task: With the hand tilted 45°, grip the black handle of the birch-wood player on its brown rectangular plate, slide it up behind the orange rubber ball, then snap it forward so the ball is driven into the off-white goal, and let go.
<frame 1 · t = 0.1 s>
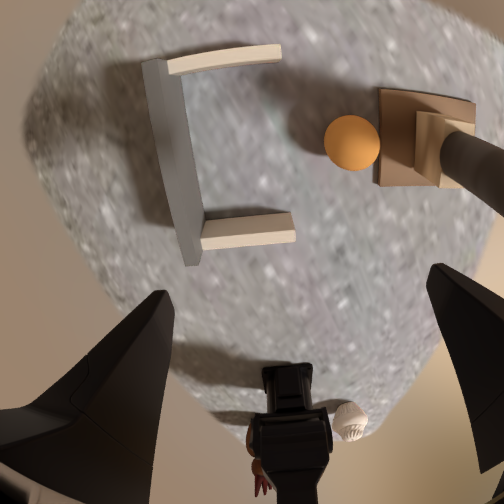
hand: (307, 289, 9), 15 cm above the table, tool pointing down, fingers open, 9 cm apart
goal: (231, 145, 21), on the table
brown rectangular plate: (425, 139, 20), on the table
muffin: (346, 405, 42), on the table
wooden figurine: (265, 418, 44), on the table
ball: (352, 142, 18), point 2 cm above the table
player: (479, 166, 13), point 7 cm above the table, slide at 0.0 cm
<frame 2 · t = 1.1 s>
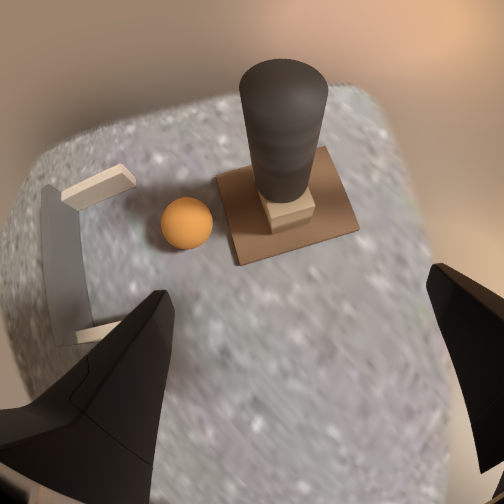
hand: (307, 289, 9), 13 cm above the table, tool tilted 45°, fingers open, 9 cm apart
goal: (108, 259, 24), on the table
brown rectangular plate: (280, 203, 24), on the table
ball: (186, 223, 22), point 2 cm above the table
player: (282, 160, 17), point 7 cm above the table, slide at 0.0 cm
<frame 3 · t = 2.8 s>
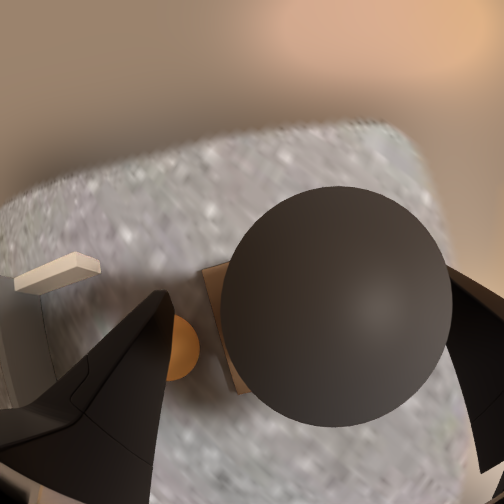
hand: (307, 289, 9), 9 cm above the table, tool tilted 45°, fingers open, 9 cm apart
goal: (78, 363, 17), on the table
brown rectangular plate: (291, 312, 17), on the table
ball: (165, 347, 15), point 2 cm above the table
player: (303, 311, 10), point 7 cm above the table, slide at 0.0 cm
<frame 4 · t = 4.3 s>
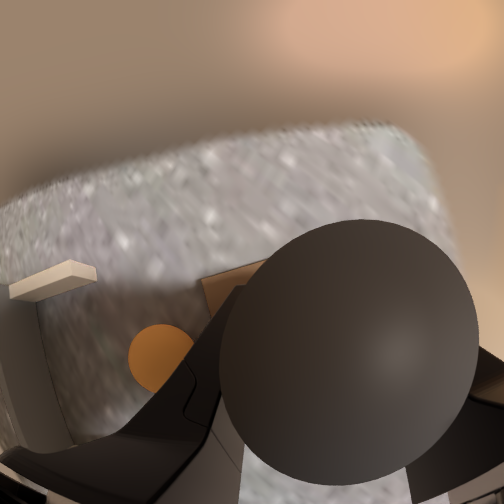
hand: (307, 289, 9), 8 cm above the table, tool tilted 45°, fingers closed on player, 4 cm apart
goal: (75, 372, 17), on the table
brown rectangular plate: (294, 323, 17), on the table
ball: (163, 359, 15), point 2 cm above the table
player: (308, 331, 9), point 7 cm above the table, slide at 0.0 cm, touching gripper
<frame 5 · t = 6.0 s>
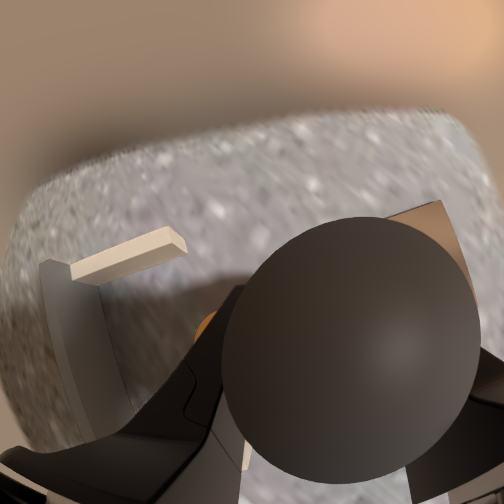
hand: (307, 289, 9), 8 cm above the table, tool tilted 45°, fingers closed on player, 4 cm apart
goal: (157, 362, 17), on the table
brown rectangular plate: (399, 282, 16), on the table
player: (309, 330, 9), point 7 cm above the table, slide at 7.2 cm, touching gripper
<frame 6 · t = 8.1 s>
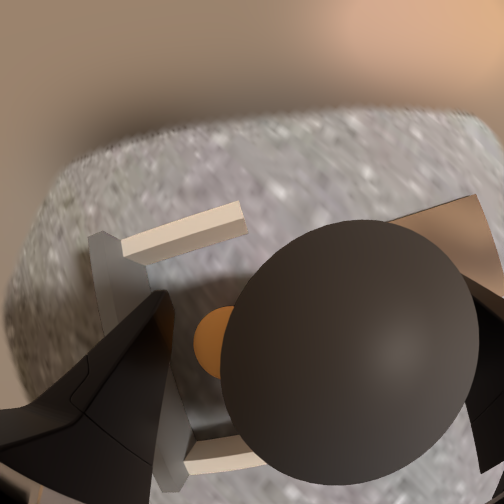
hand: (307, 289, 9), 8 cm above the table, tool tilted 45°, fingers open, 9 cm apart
goal: (212, 346, 17), on the table
brown rectangular plate: (443, 266, 16), on the table
ball: (231, 343, 15), point 2 cm above the table, tilted 164°
player: (308, 331, 9), point 7 cm above the table, slide at 11.0 cm
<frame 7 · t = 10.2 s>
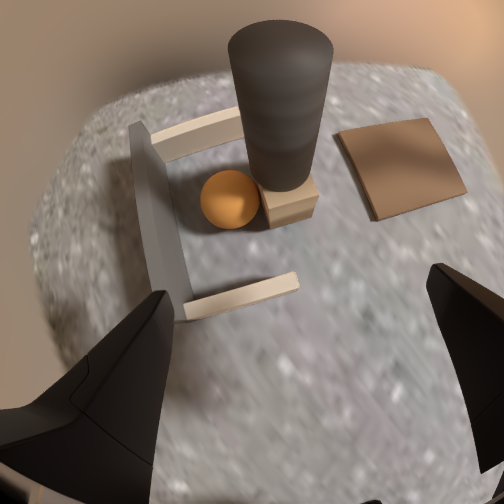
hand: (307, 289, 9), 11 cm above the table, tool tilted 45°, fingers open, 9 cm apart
goal: (214, 215, 21), on the table
brown rectangular plate: (402, 164, 21), on the table
ball: (229, 199, 19), point 2 cm above the table, tilted 163°
player: (280, 141, 14), point 7 cm above the table, slide at 11.0 cm
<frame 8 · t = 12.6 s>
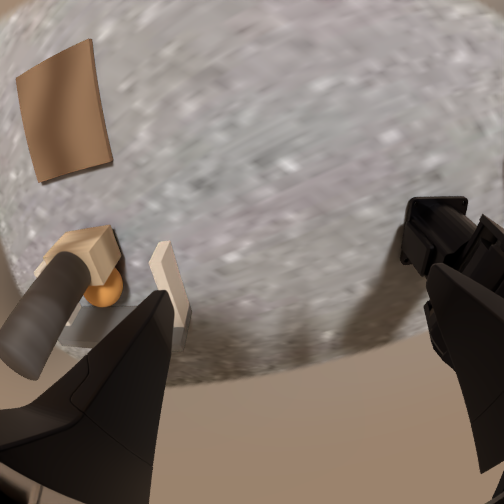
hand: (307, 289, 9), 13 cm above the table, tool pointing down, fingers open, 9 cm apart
goal: (114, 283, 26), on the table
brown rectangular plate: (61, 119, 17), on the table
ball: (101, 284, 23), point 2 cm above the table, tilted 161°
player: (56, 291, 17), point 7 cm above the table, slide at 11.0 cm
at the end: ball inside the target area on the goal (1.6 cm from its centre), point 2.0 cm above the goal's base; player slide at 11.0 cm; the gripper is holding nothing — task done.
